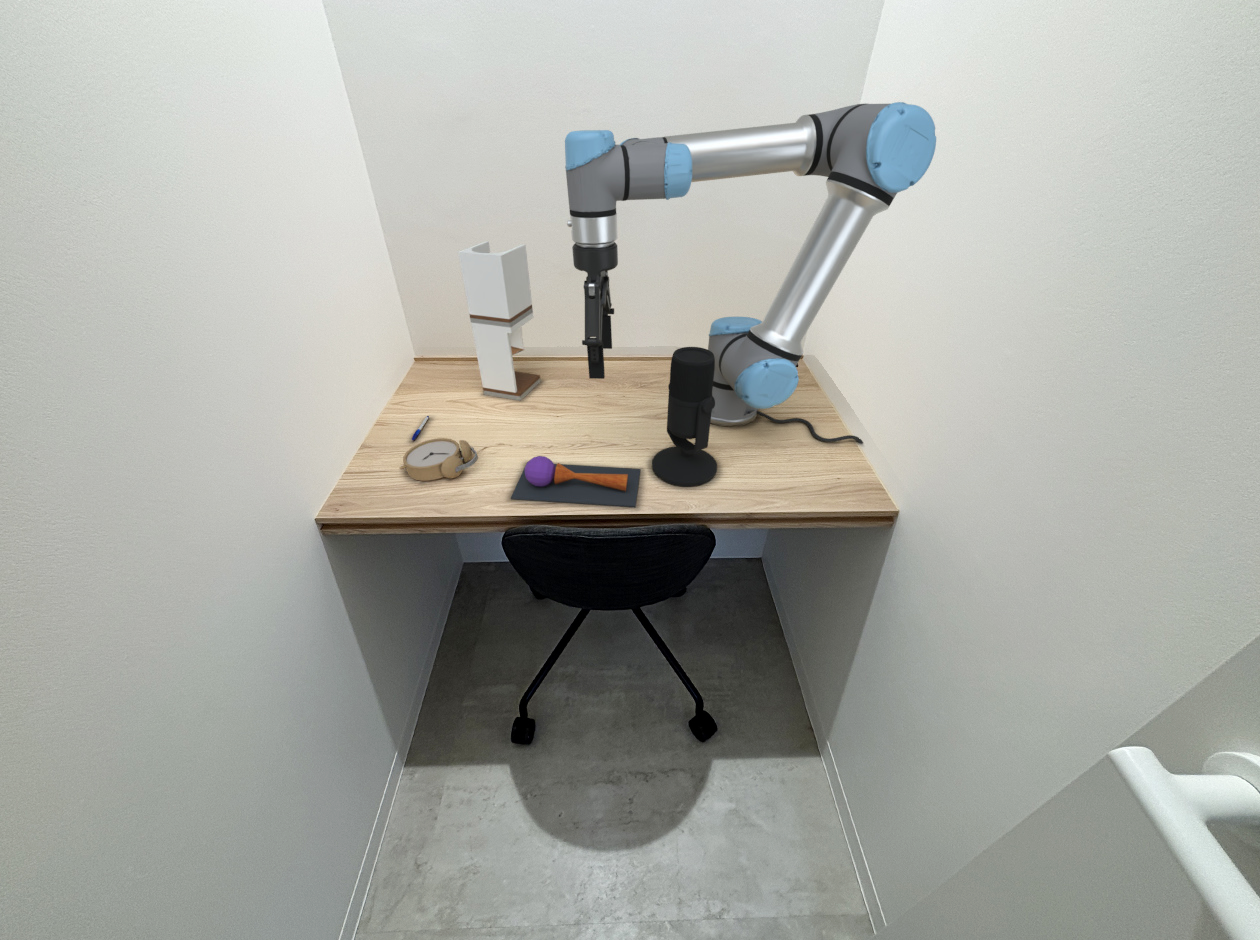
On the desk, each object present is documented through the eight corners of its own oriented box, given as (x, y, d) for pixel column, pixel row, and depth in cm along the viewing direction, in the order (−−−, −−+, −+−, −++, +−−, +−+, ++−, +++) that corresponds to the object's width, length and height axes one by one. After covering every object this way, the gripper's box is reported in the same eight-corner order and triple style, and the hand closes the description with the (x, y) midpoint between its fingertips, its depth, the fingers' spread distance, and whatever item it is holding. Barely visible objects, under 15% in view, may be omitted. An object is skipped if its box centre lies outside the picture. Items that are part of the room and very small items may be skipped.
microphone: (730, 473, 103) (747, 359, 89) (678, 495, 97) (687, 376, 83) (689, 443, 113) (699, 335, 98) (639, 461, 107) (641, 349, 92)
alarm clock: (417, 438, 108) (481, 432, 105) (426, 456, 111) (488, 451, 108) (390, 468, 99) (459, 462, 96) (401, 487, 102) (468, 483, 99)
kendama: (625, 484, 93) (519, 469, 94) (623, 504, 97) (522, 490, 98) (629, 461, 97) (528, 447, 98) (627, 481, 102) (530, 468, 102)
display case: (520, 400, 129) (500, 255, 108) (484, 394, 131) (458, 251, 111) (540, 381, 137) (525, 244, 117) (505, 376, 140) (485, 241, 120)
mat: (640, 470, 104) (640, 468, 104) (635, 507, 94) (635, 506, 94) (527, 463, 106) (527, 462, 106) (510, 499, 96) (510, 497, 96)
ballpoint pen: (415, 441, 113) (414, 437, 112) (411, 441, 113) (410, 437, 112) (429, 417, 121) (428, 414, 121) (426, 417, 121) (425, 414, 121)
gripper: (583, 227, 94) (590, 337, 106) (558, 261, 74) (571, 392, 86) (623, 227, 93) (625, 337, 106) (609, 261, 73) (614, 392, 86)
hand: (601, 362), depth 96 cm, fingers open, 13 cm apart
